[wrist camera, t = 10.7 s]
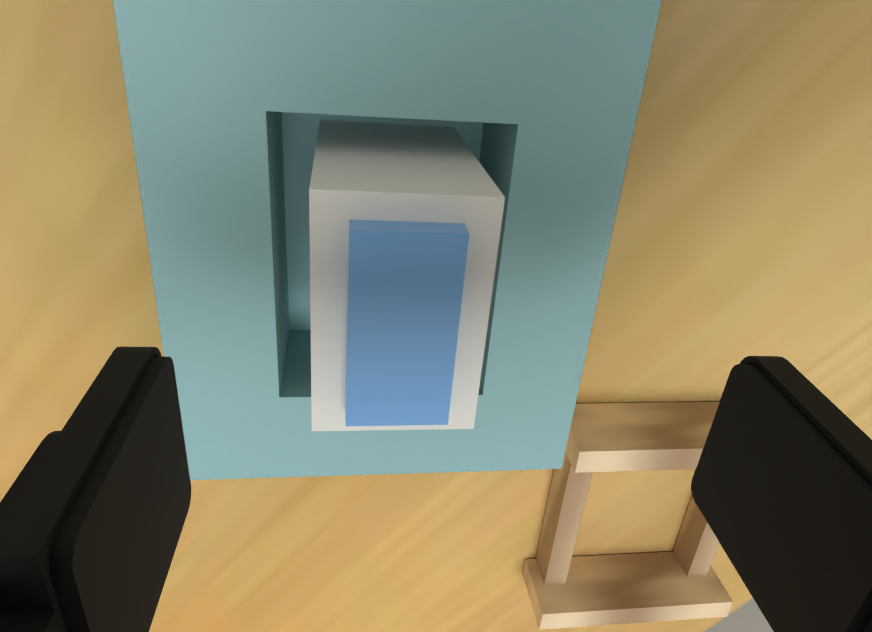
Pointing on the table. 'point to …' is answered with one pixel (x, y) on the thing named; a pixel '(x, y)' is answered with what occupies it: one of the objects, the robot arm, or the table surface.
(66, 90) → the table surface
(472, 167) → the white box blue label
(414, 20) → the block
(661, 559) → the wooden frame
